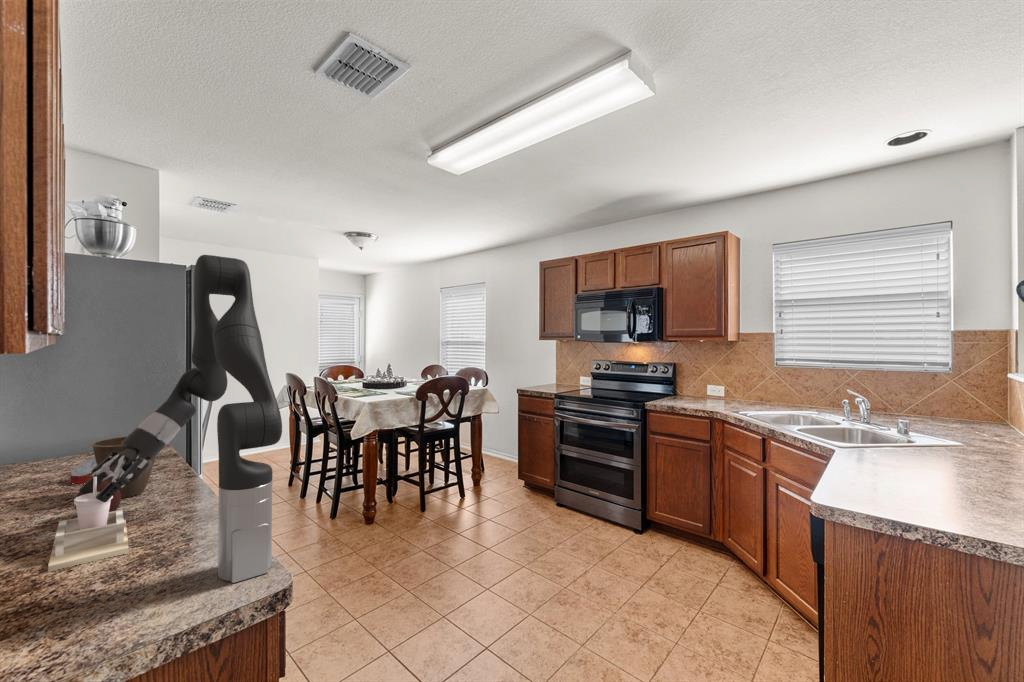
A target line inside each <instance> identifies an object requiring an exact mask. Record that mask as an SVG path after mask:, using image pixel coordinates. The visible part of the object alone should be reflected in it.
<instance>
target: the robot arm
mask: <svg viewBox="0 0 1024 682" xmlns="http://www.w3.org/2000/svg"><path fill="white" fill-rule="evenodd" d="M250 274H251V273H250V269H249V266H248V264H247V263H246V261H244V260H242V259H239V258H235V257H227V256H218V255H212V254H201V255H200V256H199V257H198V258H197V260H196V262H195V265H194V272H193V315H194V316H193V318H194V333H193V334H194V336H193V344H192V349H191V351H192V352H191V362H192V364H193V365H194V366H195V367H193V368H190V369H188V370H186V371H185V372H184V373H183V374H182V375H181V376H180V379H179V380H178V382H177V384H176V386H175V387H174V388H173V390H172V391H171V393H170V394H169V397H168V398H167V399H166V401H164V402H163V403H162V404H161V405H160V406H159V407H158V408H157V409H156V410H155V411H154V412H153V413H151V414H150V415H149V416H148V417H146V418H145V419H144V420H143V421H142V422H141V423H140V424H138V425H137V427H136V428H135V429H133V431H131V433H130V434H129V435H127V436H125V437H126V438H125V439H124V440H123V441H122V446H124V447H125V449H124V450H123V451H122V452H120V453H118V452H117V451H115V450H114V451H112V452H111V453H110V454H109V455H108V456H107V457H106V458H105V459H104V460H103V461H101V462H100V463H99V464H98V465H97V466H96V467H95V468H94V469H93V470H92V471H91V472H92V473H93V474H92V476H93V477H97V487H98V486H99V485H100V484H101V483H102V481H104V480H105V479H107V478H109V477H110V476H114V478H113V479H112V482H113V483H111V482H110V483H109V484H108V485H107V486H106V487H105V488H104V489H103V490H102V491H101V492H100V493H99V494H98V495H97V496H96V499H98V500H100V501H102V502H107V501H108V500H109V499H110V498H111V497H112V496H113V495H114V494H115V492H116V491H117V490H118V489H119V488H120V487H121V488H122V487H124V486H125V485H126V486H130V485H131V484H132V483H133V482H134V481H135V480H136V479H137V478H138V476H139V475H140V474H141V473H142V472H143V471H144V470H145V469H146V468H147V467H148V465H149V464H150V463H149V462H148V461H147V460H152V459H154V458H155V457H156V458H157V456H158V455H159V453H160V452H161V451H162V450H163V449H164V448H165V447H166V446H167V445H168V444H169V443H170V442H171V441H172V440H173V439H174V438H175V437H176V435H177V434H178V433H179V431H180V430H181V429H183V427H184V426H185V425H186V424H187V423H188V422H189V421H190V420H191V419H192V418H193V417H194V416H195V414H196V413H197V409H196V407H195V405H194V404H193V403H192V402H191V401H189V398H190V397H191V395H193V396H195V397H197V398H200V400H201V399H202V400H205V401H206V402H216V401H218V400H219V399H221V398H222V397H223V396H225V393H226V391H227V389H228V376H227V373H228V374H229V375H230V376H231V377H233V378H234V379H235V380H236V381H237V382H238V383H239V384H241V385H242V386H243V387H244V388H245V389H246V391H247V392H248V393H249V395H250V397H251V399H252V401H249V402H248V401H247V402H245V401H244V402H233V403H226V404H224V405H222V406H221V407H220V409H219V411H218V413H217V420H216V422H217V423H216V427H217V428H216V429H217V430H216V431H217V434H216V435H217V445H218V446H217V447H218V449H217V451H218V502H217V503H218V507H217V509H218V514H217V515H218V516H217V517H218V519H217V521H218V522H217V524H218V526H217V576H218V577H217V578H219V579H220V580H223V581H228V582H231V584H234V583H238V582H241V581H245V580H248V579H250V578H255V577H257V576H261V575H263V574H264V575H265V574H267V573H268V574H269V570H270V568H271V566H272V564H273V563H272V559H273V557H272V556H273V555H271V554H272V552H273V549H272V547H273V542H272V541H273V539H272V538H273V468H272V466H271V465H270V464H268V463H264V462H262V461H261V462H260V461H252V460H250V459H249V460H248V459H246V458H244V457H242V456H241V455H240V451H241V450H242V451H243V450H249V449H257V448H263V447H269V446H275V445H276V444H278V442H279V441H280V440H281V438H282V434H283V420H282V415H281V411H280V408H279V404H278V401H277V398H276V393H275V391H274V389H273V386H272V382H271V379H270V376H269V372H268V367H267V362H266V357H265V349H264V344H263V340H262V335H261V332H260V328H259V327H260V326H259V324H258V320H257V316H256V311H255V306H254V299H253V291H252V282H251V275H250ZM210 295H217V296H218V295H221V296H222V295H223V296H231V297H233V298H234V301H233V302H232V304H231V306H230V307H229V308H228V309H227V310H226V312H224V314H223V315H222V316H221V317H220V318H219V319H218V317H217V316H216V315H215V313H214V310H213V309H212V305H211V303H210V301H211V300H210ZM156 458H155V459H156ZM145 459H146V460H145ZM101 467H102V468H101ZM100 468H101V469H100ZM93 477H92V478H91V479H90V480H88V481H87V482H86V483H85V484H84V485H81V487H80V488H79V489H78V493H79V492H80V493H82V494H83V495H84V494H89V493H92V492H93ZM130 478H131V479H130ZM129 479H130V480H129Z"/></svg>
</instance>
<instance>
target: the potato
mask: <svg viewBox="0 0 1024 682" xmlns="http://www.w3.org/2000/svg"><path fill="white" fill-rule="evenodd" d="M109 483H110V482H106V481H102V483H101V484H100V485H99V486H98V487H97V492H101V491H102V490H103V489H104V488H105V487H106V486H107V485H108V484H109ZM92 493H93V492H92ZM81 495H83V494H82V493H80V492H79V491H78V493H77V494H76V497H79V496H81ZM121 500H122V498H121V493H120V491H119V489H118V490H117V491H116V492H115V494H114V495H113V498H112V499H111V502H110V508H109V512H112V511H117V510H118V508H119V506H120V503H121ZM74 507H75V508H74V509H75V511H76V512H77V509H76V505H74Z"/></svg>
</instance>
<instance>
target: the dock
mask: <svg viewBox="0 0 1024 682" xmlns="http://www.w3.org/2000/svg"><path fill="white" fill-rule="evenodd" d="M129 552H130V546H129V539H128V528H127V521H126V519H124V510H123V509H117V510H116V511H112V512H109V514H108V519H107V525H103V526H98V527H93V528H88V529H83V530H80V528H79V522H78V517H75V518H69V519H63V520H59V522H58V525H57V530H56V534H55V538H54V541H53V546H52V550H51V554H50V558H49V561H48V564H47V565H48V566H47V572H48V573H50V571H51V572H55V571H59V570H58V569H60V570H63V569H62V568H64V569H67V567H68V568H71V567H76V566H75V565H77V566H80V565H79V564H81V565H85V564H89V563H93V562H92V561H94V562H97V561H96V560H98V561H101V560H100V559H102V560H105V559H104V558H106V559H109V558H108V557H111V558H114V557H113V556H115V557H118V555H119V556H123V554H124V555H127V554H129ZM88 562H89V563H88ZM84 563H85V564H84Z"/></svg>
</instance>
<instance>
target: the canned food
mask: <svg viewBox="0 0 1024 682" xmlns="http://www.w3.org/2000/svg"><path fill="white" fill-rule="evenodd" d="M96 466H97V463H96V459H95V455H94V456H91V457H89V458H88V459H86V460H83V462H81V463H79V464H78V465H77V466H75V467H74V468H73V469H72V470H71V473H70V475H69V476H70V477H69V480H70V482H69V483H74V484H84V483H86V482H87V481H88V480H90V479H91V478H92V477H93V476H92V474H93V473H92V472H91V471H92V470H93V469H94V468H95V467H96Z"/></svg>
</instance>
